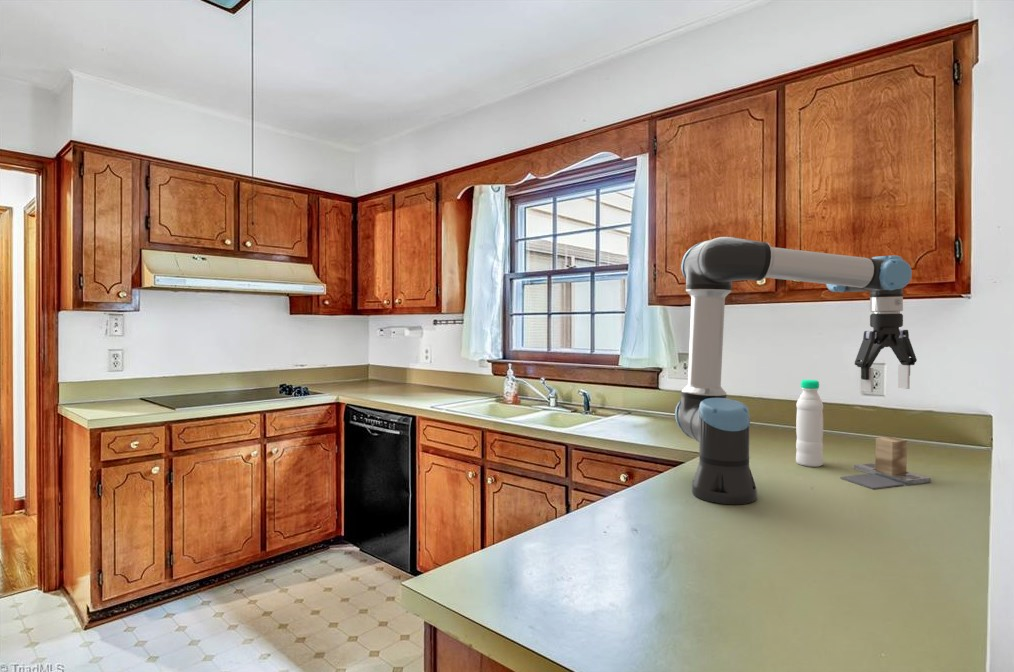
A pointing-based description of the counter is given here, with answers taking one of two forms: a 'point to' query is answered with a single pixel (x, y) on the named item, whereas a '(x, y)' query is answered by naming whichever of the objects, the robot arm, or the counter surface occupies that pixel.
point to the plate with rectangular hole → (901, 478)
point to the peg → (891, 455)
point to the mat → (871, 481)
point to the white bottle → (809, 425)
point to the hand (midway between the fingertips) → (885, 390)
